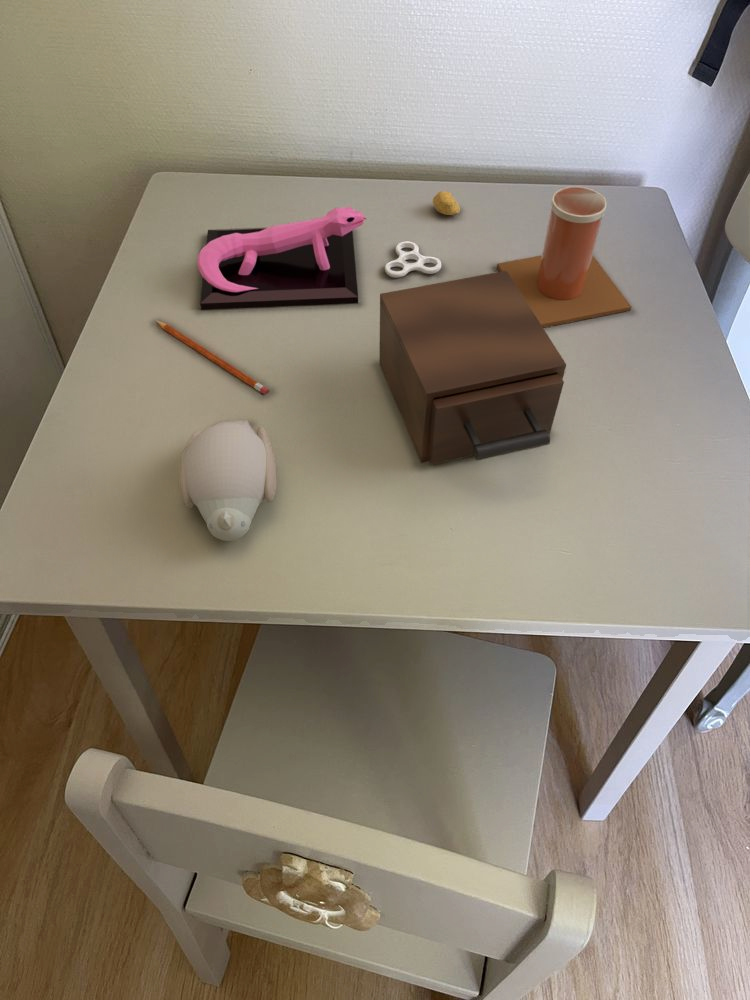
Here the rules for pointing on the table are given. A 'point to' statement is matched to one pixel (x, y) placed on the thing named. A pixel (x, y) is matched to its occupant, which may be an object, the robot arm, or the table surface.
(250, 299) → the dark display base
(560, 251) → the tumbler
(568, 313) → the mat
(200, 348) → the pencil
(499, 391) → the drawer
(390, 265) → the fidget spinner
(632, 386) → the table surface
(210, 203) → the table surface
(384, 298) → the cabinet
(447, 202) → the rock
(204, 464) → the decorative bird
